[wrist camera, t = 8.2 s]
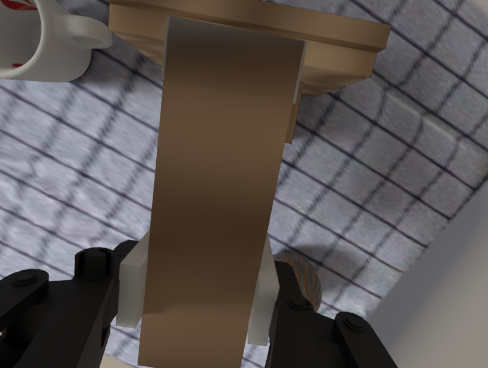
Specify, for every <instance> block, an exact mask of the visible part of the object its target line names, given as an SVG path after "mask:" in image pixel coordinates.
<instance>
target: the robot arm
mask: <svg viewBox="0 0 488 368" xmlns="http://www.w3.org/2000/svg"><path fill="white" fill-rule="evenodd" d="M149 235H150V230H149V231H148V232H147V233H146V234H145V235H144V237H143V238H142V239H141V240H140V241H134V240H127V241H124V242H122V243H120V244H119V245H118V246H117V247H116V248H115V249H114V250H113V251H112V250H111V249H108V248H102V247H94V248H88V249H84V250H82V251H80V252H78V253H77V254H76V255H75V272H74V277H73V278H72V280H62V281H49V274H48V273H47V272H46V271H44V270H40V269H28V270H27V269H26V270H22V271H19V272H15V273H13V274H11V275H8V276H6V277H5V278H3V279H2V280H0V332H2V335H1V336H0V368H99V366H100V363H101V360H102V357H103V354H104V351H105V348H106V344H107V341H108V338H109V335H110V324H111V322H112V320H113V319H114V317H115V316H116V326H121V327H128V328H136V326H137V324H138V322H139V320H140V318H141V316H142V314H143V306H144V296H145V285H146V274H147V263H148V246H149ZM116 314H117V315H116ZM268 337H269V339H270V346H269V351H268V355H267V360H266V364H265V368H398V367H397V366H396V364H395V363H394V361H393V359H392V358H391V357H390V355H389V353H388V352H387V350H386V348H385V347H384V345H383V344H382V343H381V341H380V339H379V338H378V336H377V335H376V333H375V332H374V330H373V328H372V327H371V326H370V324H368V322H367V321H366V320H364V319H363V318H362V317H360V316H358V315H356V314H354V313H350V312H339V313H337V314H336V317H335V320H334V319H331V318H328V317H326V316H323V315H321V314H319V313H317V312H315V311H314V307H313V305H312V303H311V302H310V301H309V300H308V299H306V298H305V297H303V295H302V292H301V289H300V286H299V283H298V281H297V278H296V276H295V272H294V269H293V268H292V267H291V266H290V265H289V264H288V263H287V262H281V261H274V260H273V255H272V251H271V246H270V242H269V238H268V233H267V235H266V240H265V245H264V250H263V255H262V260H261V266H260V271H259V273H258V278H257V283H256V288H255V293H254V298H253V303H252V308H251V313H250V319H249V324H248V344H255V345H263V346H267V342H268Z"/></svg>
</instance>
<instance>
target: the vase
mask: <svg viewBox="0 0 488 368" xmlns="http://www.w3.org/2000/svg"><path fill="white" fill-rule="evenodd" d="M273 260H274V261H281V262H287V263H288V264H289V265H290V266H291V267H292V268H293V269H294V272H295V276H296V278H297V281H298V283H299V286H300V289H301V292H302V295H303V297H305V298H306V299H308V300H309V301H310V302H311V303H312V305H313V307H314V311H315V312H317V311H318V309H319V307H320V304H321V298H322V289H321V283H320V280H319V277H318V275H317V273H316V271H315V269H314V268H313V266H312V265H311V264H310V263H309V262H308V261H307V260H306V259H304V258H303V257H301V256H300V255H297V254H295V253H291V252H281V253H277V254H275V255H273Z"/></svg>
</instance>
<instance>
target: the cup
mask: <svg viewBox="0 0 488 368" xmlns="http://www.w3.org/2000/svg"><path fill="white" fill-rule="evenodd" d="M112 44H113V36H112V33H111V31H109V30H108V27H107V26H106V25H105V24H103V23H102V22H100V21H98V20H96V19H93V18H90V17H86V16H79V15H72V14H71V13H70V12H68V11H67V10H66V9H65V8H64V7H62V6H61V5H60V4H59V3H58V2H57V1H55V0H0V78H1V79H13V80H27V81H42V82H68V81H72V80H74V79H76V78H78V77H80V76H81V75H82V74H83V73H84V72H85V71H86V69H87V68H88V66H89V64H90V60H91V53H92V51H91V49H96V48H109V47H111V46H112Z"/></svg>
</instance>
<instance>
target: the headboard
mask: <svg viewBox="0 0 488 368" xmlns="http://www.w3.org/2000/svg"><path fill="white" fill-rule="evenodd" d="M106 1H107V2H109V3H110V6H109V28H108V30H109V31H111V32H112V33H114V34H115V35H117V36H118V37H119V38H121V39H122V40H124V41H125V42H127V43H128V44H129V45H131V46H132V47H134V48H135V49H137V50H138V51H139V52H141V53H142V54H144V55H145V56H147V57H148V58H150V59H151V60H152V61H154V62H155V63H157V64H158V65H160V66H161V67H162V60H163V48H164V37H165V26H166V15H168V16H173V17H179V18H184V19H190V20H195V21H200V22H206V23H211V24H217V25H222V26H227V27H233V28H238V29H244V30H249V31H255V32H260V33H265V34H271V35H276V36H282V37H287V38H292V39H298V40H303V41H308V43H307V48H306V53H305V58H304V63H303V68H302V73H301V78H300V83H299V88H298V93H297V98H296V103H295V104H292V109H291V114H290V119H289V124H288V129H287V134H286V139H285V143H289V144H292V139H293V134H294V129H295V124H296V119H297V114H298V109H299V104H300V100H301V95H302V94H306V95H311V96H319V95H322V94H325V93H328V92H331V91H333V90H336V89H339V88H342V87H345V86H347V85H350V84H353V83H356V82H359V81H361V80H364V79H367V78H370V77H371V73H372V69H373V65H374V61H375V57H376V54H377V53H378V52H380V51H381V50H383V49H385V48H386V44H387V40H388V37H389V33H390V29H391V25H387V24H382V23H377V22H372V21H366V20H361V19H356V18H351V17H345V16H340V15H335V14H330V13H325V12H319V11H314V10H309V9H304V8H298V7H293V6H288V5H283V4H277V3H272V2H267V1H262V0H106Z"/></svg>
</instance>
